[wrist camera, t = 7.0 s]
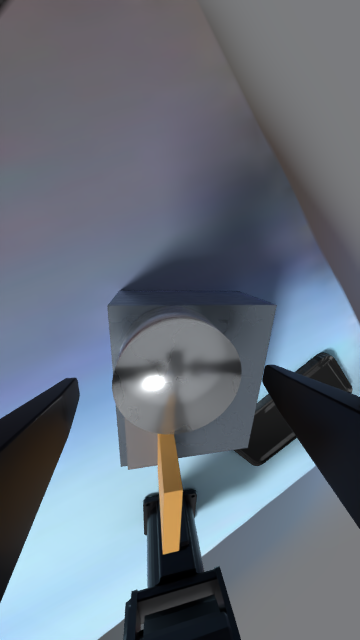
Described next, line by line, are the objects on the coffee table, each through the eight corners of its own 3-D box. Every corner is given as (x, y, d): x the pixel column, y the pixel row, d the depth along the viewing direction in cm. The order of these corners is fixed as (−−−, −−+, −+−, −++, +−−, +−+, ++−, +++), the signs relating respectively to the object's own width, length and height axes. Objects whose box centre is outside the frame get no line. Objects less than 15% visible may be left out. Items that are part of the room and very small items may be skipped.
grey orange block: (167, 452, 14) (178, 550, 9) (128, 457, 13) (120, 564, 9) (168, 403, 13) (182, 489, 8) (125, 407, 12) (113, 502, 7)
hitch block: (223, 403, 20) (247, 447, 15) (127, 413, 18) (121, 466, 14) (238, 291, 16) (276, 305, 12) (119, 290, 15) (107, 305, 10)
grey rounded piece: (198, 360, 17) (233, 427, 10) (129, 364, 16) (116, 441, 9) (203, 293, 15) (250, 321, 8) (125, 292, 14) (106, 324, 7)
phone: (355, 392, 22) (257, 468, 23) (345, 386, 23) (252, 459, 24) (330, 351, 19) (220, 440, 21) (320, 346, 20) (217, 431, 22)
